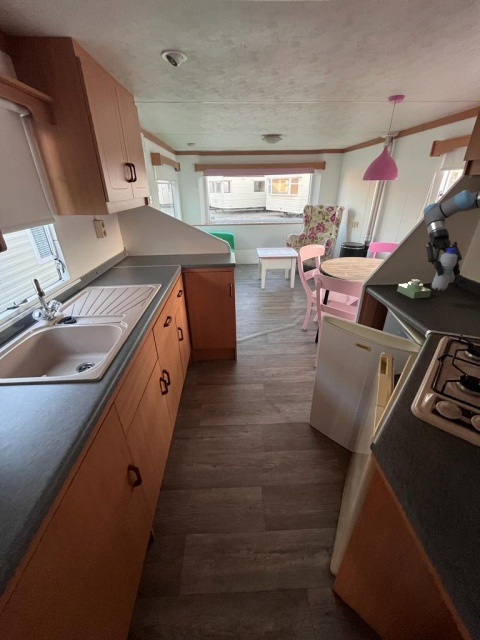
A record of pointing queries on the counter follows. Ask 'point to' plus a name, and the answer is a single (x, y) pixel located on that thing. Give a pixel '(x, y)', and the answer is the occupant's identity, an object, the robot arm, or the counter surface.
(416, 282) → the pump
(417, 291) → the dispenser
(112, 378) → the counter surface
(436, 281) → the bottle
